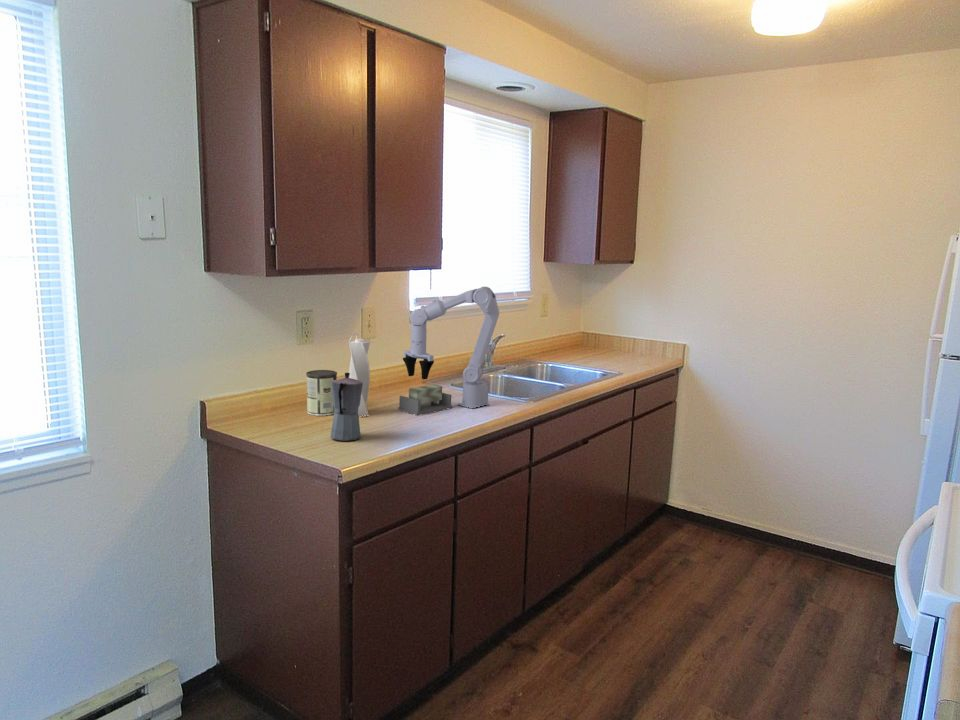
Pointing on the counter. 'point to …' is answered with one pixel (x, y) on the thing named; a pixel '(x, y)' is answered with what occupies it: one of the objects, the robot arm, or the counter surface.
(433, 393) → the olive green rectangular block
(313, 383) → the coffee can
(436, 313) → the robot arm
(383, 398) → the counter surface
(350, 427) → the moka pot
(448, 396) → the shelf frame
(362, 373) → the skyscraper
